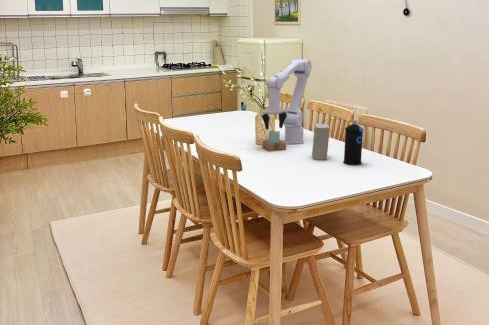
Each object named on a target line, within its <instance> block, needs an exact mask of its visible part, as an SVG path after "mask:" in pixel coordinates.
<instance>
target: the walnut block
mask: <svg viewBox="0 0 489 325" xmlns="http://www.w3.org/2000/svg"><path fill="white" fill-rule="evenodd" d="M262 148H263V149H264V150H266V151H267V152H270V153H271V152H280V151H281V152H282V151H286V150H287V144H286V143H285V142H283V141H282V140H281V139H280V141H279V143H269V139H268V140H267V139H266V140H265V139H264V140H262Z"/></svg>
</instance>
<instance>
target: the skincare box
mask: <svg viewBox="0 0 489 325" xmlns="http://www.w3.org/2000/svg"><path fill="white" fill-rule="evenodd" d="M330 131H331V128H330V125H329V124H328V123H314V129H313V139H312V151H311V156H312V159H313V160H322V161H323V160H325V161H327V160H328V151H329V139H330Z"/></svg>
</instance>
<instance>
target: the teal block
mask: <svg viewBox="0 0 489 325" xmlns="http://www.w3.org/2000/svg"><path fill="white" fill-rule="evenodd" d="M280 137H281V132H280V130H278V131H277V130H275V131H274V130H270V131H269V132H268V140H269V143H279V141H280V140H281V139H280Z"/></svg>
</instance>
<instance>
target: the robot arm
mask: <svg viewBox="0 0 489 325" xmlns="http://www.w3.org/2000/svg"><path fill="white" fill-rule="evenodd" d="M312 65H313V64H312V61H311V60H310V59H300V58H299V59H298V58H292V60H290V61H289V65H287V67H286V68H285V69H280V70H279V71H278V72H277V73H276V74H275V75H273V76H269V78H267V80H266V84H265V85H266V88H267V92H268V109H265V110H260V112H259V114H260V116H261V118H262V120H263V122H264V126H265V130H269V129H270V126H269V125H270V115H278V128H279V129H283V126H284V139H282V140H281V141H283V142H285V143H286V145H294V144H304V128H303V126H302V124H303V116H304V113H303V111H302V110H301V104H302V101H303V96H304V94H305V88H306V85H307V83H308V82H307V81H308V78H309V77H310V74H311V71H312V67H313V66H312ZM292 74H293V75H294V77H296V83H295V86H294V90H293V94H292V97H291V101H290V105H289V106H288V107H286V109H285V108H284V109H283V108H282V109H281V89H282V88H283V87H284V84H285V82H287V81H288V80H289V78H290V75H292Z"/></svg>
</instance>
